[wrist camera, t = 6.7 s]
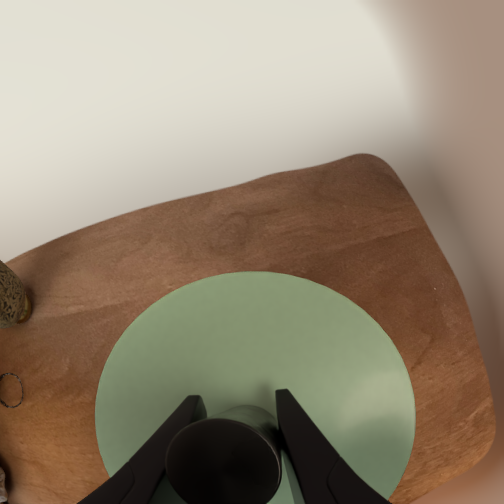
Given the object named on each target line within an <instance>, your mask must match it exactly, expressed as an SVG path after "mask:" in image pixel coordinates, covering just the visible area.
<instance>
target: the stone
mask: <svg viewBox="0 0 504 504" xmlns="http://www.w3.org/2000/svg"><path fill="white" fill-rule="evenodd" d="M4 480H5V473H4V471H3V469H2V468H1V467H0V503H1V502H4V501H7V497H8V495H7V493H6V489H5V484H4Z"/></svg>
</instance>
